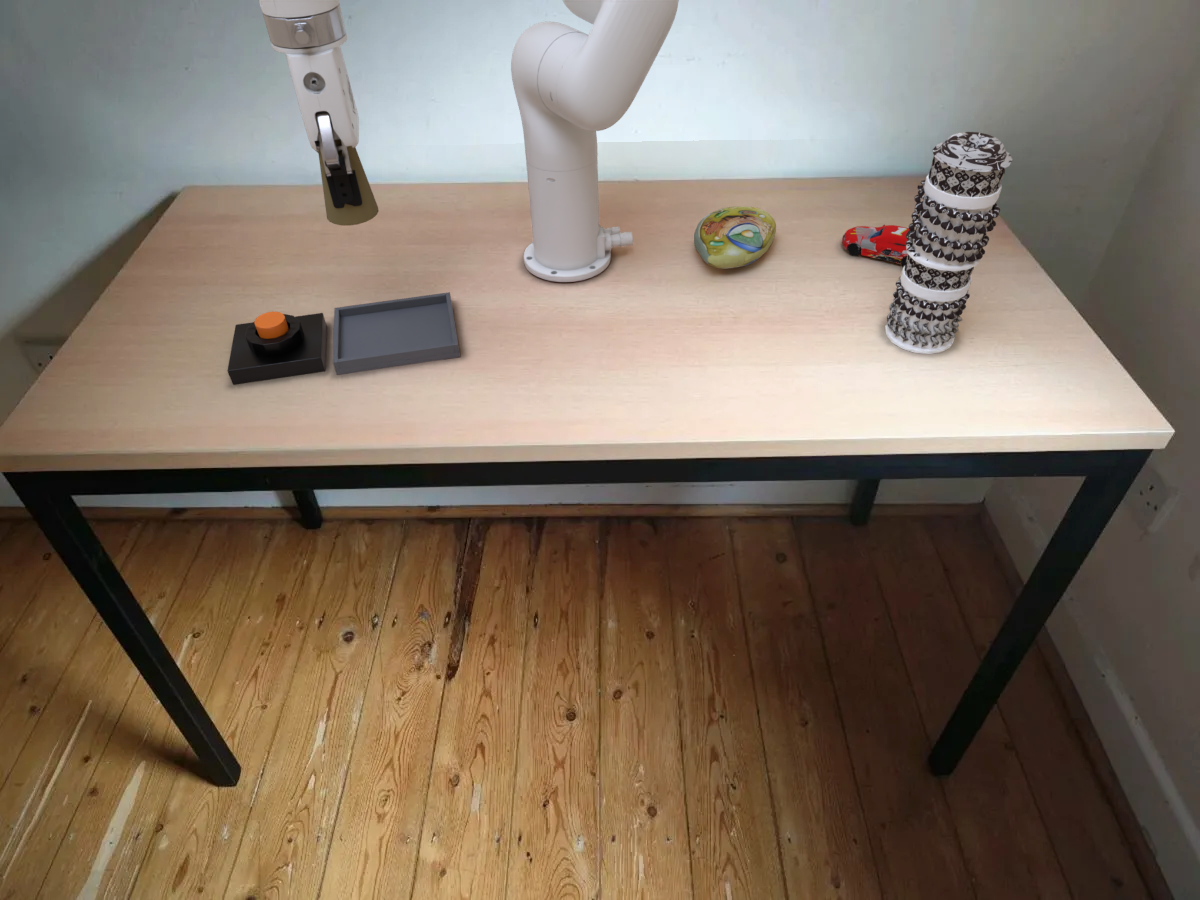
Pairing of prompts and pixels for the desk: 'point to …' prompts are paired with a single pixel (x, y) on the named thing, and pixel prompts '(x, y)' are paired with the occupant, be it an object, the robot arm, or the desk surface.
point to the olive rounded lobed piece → (349, 212)
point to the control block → (279, 350)
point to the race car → (878, 242)
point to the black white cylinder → (946, 241)
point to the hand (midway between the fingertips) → (348, 194)
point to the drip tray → (394, 333)
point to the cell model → (734, 236)
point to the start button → (271, 325)
